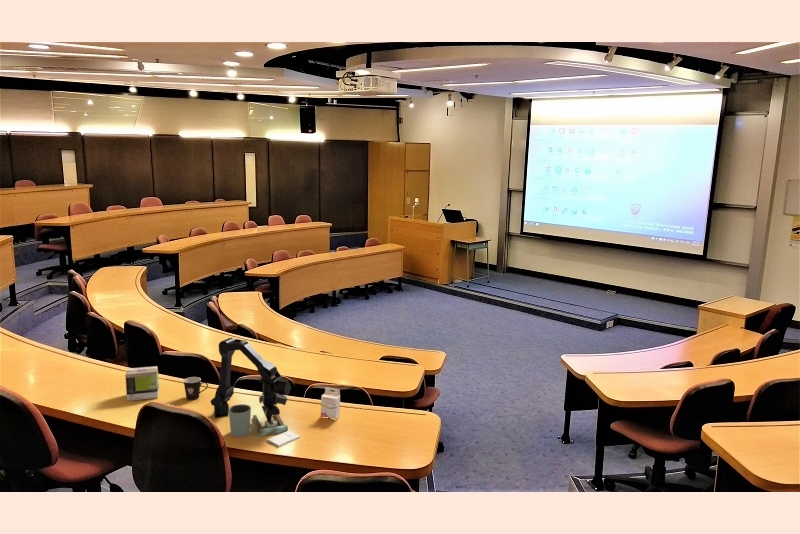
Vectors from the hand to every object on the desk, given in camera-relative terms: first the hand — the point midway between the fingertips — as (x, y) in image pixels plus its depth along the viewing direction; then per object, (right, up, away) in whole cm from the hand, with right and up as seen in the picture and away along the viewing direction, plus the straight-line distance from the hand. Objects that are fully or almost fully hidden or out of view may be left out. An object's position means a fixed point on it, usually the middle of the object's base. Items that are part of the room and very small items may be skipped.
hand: (269, 421), depth 274 cm
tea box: (-74, +6, +27) cm, 79 cm away
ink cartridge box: (+28, -1, +10) cm, 30 cm away
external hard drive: (+10, -5, -14) cm, 18 cm away
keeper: (+2, -2, -4) cm, 4 cm away
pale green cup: (-12, -3, -9) cm, 15 cm away
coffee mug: (-46, +5, +27) cm, 53 cm away
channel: (0, -1, 0) cm, 1 cm away
